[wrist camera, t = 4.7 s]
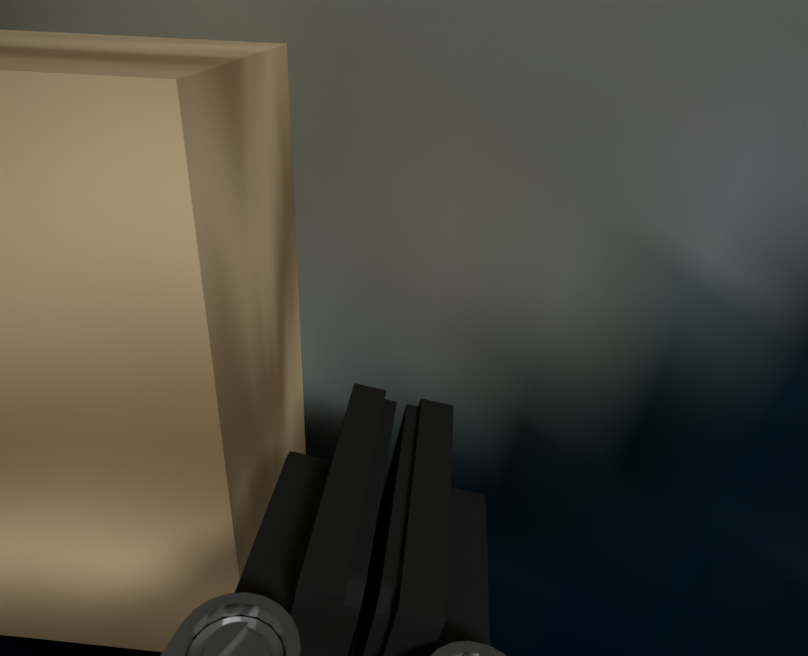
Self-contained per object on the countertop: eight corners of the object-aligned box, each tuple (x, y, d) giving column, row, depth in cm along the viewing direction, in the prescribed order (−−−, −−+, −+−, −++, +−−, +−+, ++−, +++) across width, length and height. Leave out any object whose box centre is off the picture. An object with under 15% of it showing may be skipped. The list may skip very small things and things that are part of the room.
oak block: (-190, 19, 12) (-584, 38, 7) (290, 42, 11) (176, 78, 7) (-31, 444, 16) (-212, 611, 12) (309, 475, 16) (249, 661, 12)
